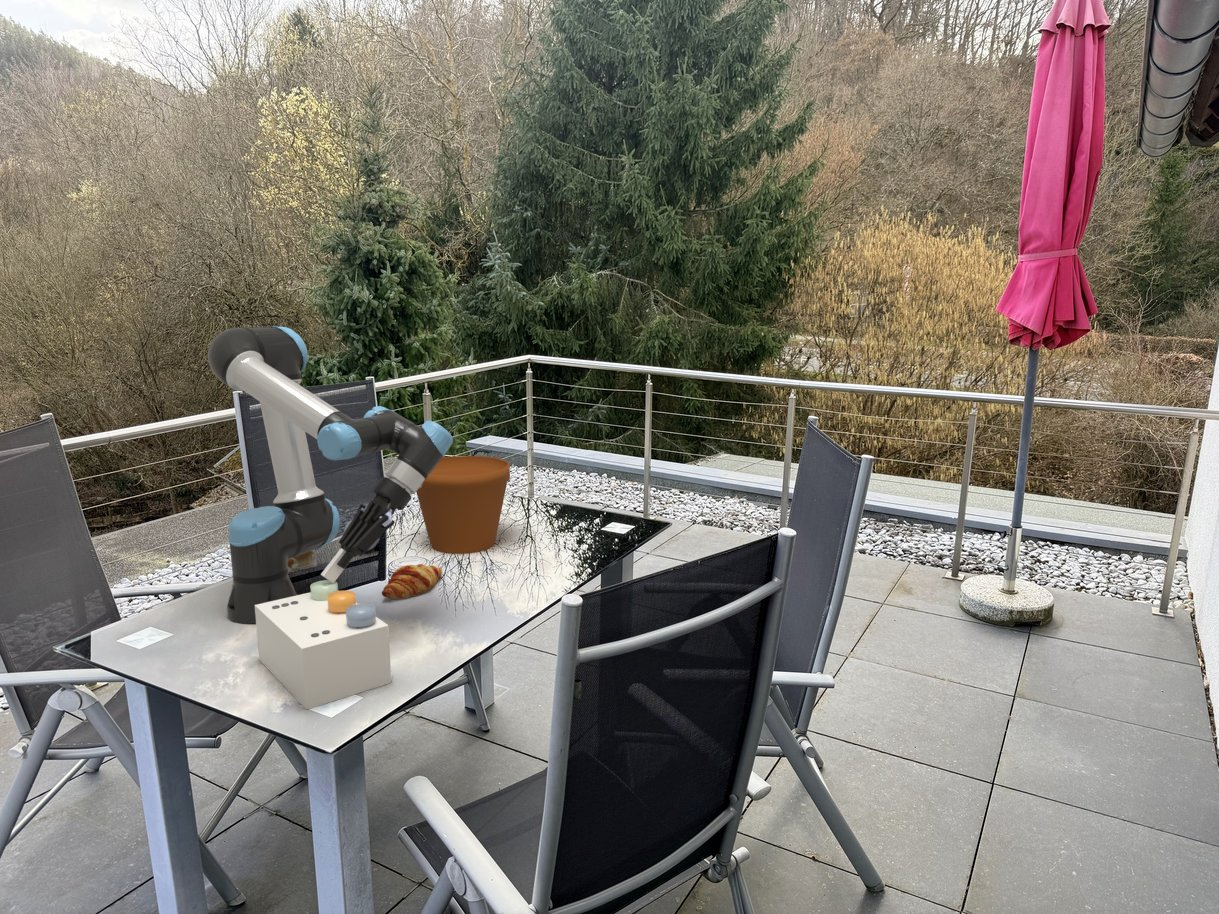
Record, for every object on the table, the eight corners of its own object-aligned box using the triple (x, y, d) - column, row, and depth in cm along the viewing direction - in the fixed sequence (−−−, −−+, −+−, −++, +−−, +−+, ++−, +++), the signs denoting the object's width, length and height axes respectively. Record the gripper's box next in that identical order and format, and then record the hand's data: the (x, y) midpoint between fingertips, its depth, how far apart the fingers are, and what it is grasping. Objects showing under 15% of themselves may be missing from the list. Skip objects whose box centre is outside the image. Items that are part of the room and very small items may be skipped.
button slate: (369, 628, 156) (367, 601, 155) (381, 637, 152) (379, 609, 151) (343, 635, 153) (341, 608, 152) (354, 644, 149) (352, 616, 148)
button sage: (333, 603, 170) (331, 578, 169) (343, 610, 166) (341, 585, 165) (308, 609, 166) (306, 583, 165) (317, 617, 163) (315, 591, 161)
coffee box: (286, 574, 212) (281, 515, 208) (273, 569, 216) (268, 510, 212) (318, 566, 219) (314, 508, 215) (305, 561, 223) (301, 504, 219)
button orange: (350, 614, 163) (348, 588, 162) (361, 622, 159) (359, 595, 158) (324, 621, 160) (323, 594, 159) (335, 629, 156) (333, 602, 155)
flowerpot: (495, 562, 223) (493, 478, 218) (398, 556, 227) (394, 474, 222) (522, 532, 250) (520, 457, 245) (434, 528, 254) (432, 454, 249)
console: (337, 638, 173) (333, 586, 171) (391, 682, 154) (388, 624, 151) (259, 659, 163) (254, 604, 161) (306, 709, 143) (301, 647, 141)
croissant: (432, 587, 213) (420, 559, 213) (460, 575, 208) (447, 547, 209) (376, 613, 194) (363, 583, 195) (405, 601, 190) (391, 569, 190)
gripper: (425, 501, 170) (353, 596, 162) (396, 490, 179) (328, 580, 172) (400, 480, 165) (325, 577, 158) (372, 470, 175) (301, 561, 168)
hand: (327, 578), depth 165 cm, fingers closed
